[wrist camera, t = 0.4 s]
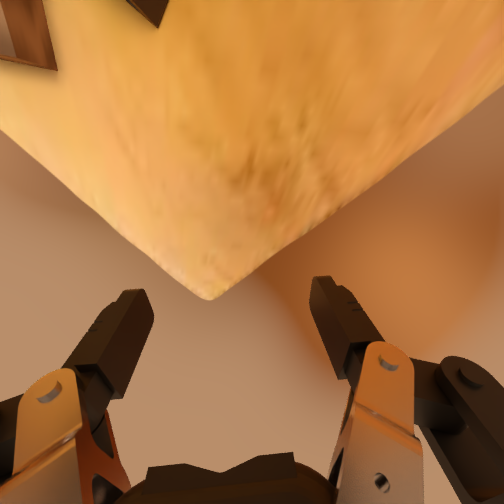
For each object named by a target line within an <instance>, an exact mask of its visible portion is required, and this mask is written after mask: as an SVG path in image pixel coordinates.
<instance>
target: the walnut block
mask: <svg viewBox="0 0 504 504" xmlns="http://www.w3.org/2000/svg"><path fill="white" fill-rule="evenodd" d="M0 59H3V60H7V61H12V62H17V63H22V64H27V65H32V66H36V67H41V68H46V69H51V70H56V71H58V70H57V65H56V61H55V56H54V52H53V47H52V43H51V39H50V34H49V30H48V25H47V21H46V16H45V12H44V7H43V3H42V0H0Z"/></svg>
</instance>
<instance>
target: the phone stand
mask: <svg viewBox="0 0 504 504" xmlns="http://www.w3.org/2000/svg"><path fill="white" fill-rule="evenodd" d="M126 1H127V2H128V3H129V4H130V5H132V6H133V7H134V8H135V9H136V10H137V11H138V12H140V13H141V14H142V15H143V16H144V17H145V18H146V19H148V20H149V21H150V22H151V23H152V24H153V25H154V26H155V27H157V28H158V25H159V23H160V20H161V17H162V15H163V12H164V9H165V7H166V4H167V1H168V0H126Z"/></svg>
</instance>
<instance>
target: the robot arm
mask: <svg viewBox="0 0 504 504" xmlns="http://www.w3.org/2000/svg"><path fill="white" fill-rule="evenodd" d="M309 304H310V310H311V313H312V316H313V318H314V321H315V323H316V326H317V328H318V331H319V333H320V336H321V338H322V341H323V343H324V346H325V348H326V351H327V353H328V356H329V358H330V361H331V363H332V366H333V368H334V371H335V373H336V376H337V378H338V380H339V379H348V381H349V384H350V386H351V388H350V391H349V395H348V399H347V403H346V408H345V412H344V416H343V420H342V424H341V428H340V432H339V436H338V440H337V443H336V446H335V449H334V453H333V456H332V460H331V463H330V468H329V471H328V476H327V479H326V478H325V477H323V476H322V475H321V474H319V473H318V472H317V471H315V470H313V469H312V468H310V467H308V466H305V465H303V464H301V463H298V462H295V461H294V456H293V452H288V453H279V454H269V455H260V456H257V457H254V458H252V459H250V460H248V461H246V462H244V463H242V464H240V465H238V466H236V467H233V468H231V469H229V470H227V471H225V472H222V473H218V472H214V471H210V470H207V469H203V468H200V467H196V466H192V465H189V464H175V465H166V466H156V467H148V471H147V475H146V479H145V480H143V481H142V482H140V483H138V484H137V485H135V486H134V487H132V488H131V484H130V481H129V479H128V476H127V474H126V472H125V470H124V468H123V466H122V464H121V461H120V459H119V455H118V451H117V447H116V443H115V438H114V434H113V430H112V426H111V422H110V418H109V413H108V411H107V409H106V408H107V406H108V404H109V402H110V400H113V399H122V398H123V397H124V394H125V392H126V389H127V387H128V384H129V382H130V379H131V377H132V374H133V372H134V370H135V367H136V365H137V362H138V360H139V357H140V355H141V352H142V350H143V347H144V345H145V343H146V340H147V338H148V335H149V333H150V330H151V328H152V325H153V322H154V313H153V310H152V307H151V304H150V302H149V300H148V297H147V295H146V292H145V290H144V289H130V290H124V291H123V292H122V294H121V295H120V296H119V298H118V299H117V301H116V302H112V303H111V304H110V305H108V306H107V307H106V308H105V309H104V310H102V312H101V313H100V314H99V316H98V317H97V318H96V320H95V322H94V323H93V324H92V325H91V327H90V328H89V330H88V332H86V334H85V335H84V337H83V338H82V340H81V341H80V342H79V344H78V345H77V346H76V348H75V349H74V351H73V352H72V354H71V355H70V356H69V358H68V359H67V361H66V362H65V363H64V365H63V366H62V368H61V369H58V370H55V371H52V372H50V373H48V374H46V375H45V376H43V377H42V378H40V379H39V380H37V381H36V382H35V383H34V384H33V385H32V386H31V387H30V388H29V389H28V390H27V391H26V392H25V393H24V394H21V395H19V396H16V397H13V398H10V399H8V400H5V401H2V402H0V504H424V485H423V484H424V483H423V482H424V481H423V450H422V445H421V442H420V440H419V439H418V438H417V437H415V434H414V424H416V425H418V426H419V427H420V429H421V431H422V433H423V435H424V437H425V438H426V440H427V442H428V444H429V446H430V447H431V449H432V451H433V453H434V455H435V457H436V458H437V460H438V462H439V464H440V465H441V467H442V469H443V471H444V473H445V475H446V476H447V478H448V480H449V482H450V483H451V485H452V487H453V489H454V491H455V493H456V494H457V496H458V498H459V500H460V502H461V503H462V504H504V388H503V387H502V386H501V385H500V383H499V382H498V381H497V380H496V379H495V378H494V377H493V376H492V375H491V374H490V373H489V372H487V371H486V370H485V369H484V368H482V367H481V366H479V365H477V364H476V363H474V362H472V361H470V360H468V359H465V358H461V357H457V356H448V357H445V358H444V359H443V360H442V361H441V363H440V364H436V363H431V362H427V361H422V360H417V359H413V358H410V357H408V356H407V355H406V354H405V353H404V352H403V351H402V350H401V349H399V348H398V347H396V346H394V345H392V344H390V343H387V342H385V340H384V339H383V337H382V336H381V335H380V333H379V332H378V330H377V329H376V327H375V326H374V324H373V323H372V321H371V320H370V319H369V317H368V316H367V314H366V313H365V311H363V308H362V307H361V305H360V304H359V303H358V301H357V300H356V298H355V297H354V295H353V294H352V292H350V291H349V290H348V289H346V288H345V287H344V286H342V285H341V286H337V285H336V284H335V282H334V280H333V279H332V277H331V276H316V277H313V280H312V285H311V292H310V299H309Z"/></svg>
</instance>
